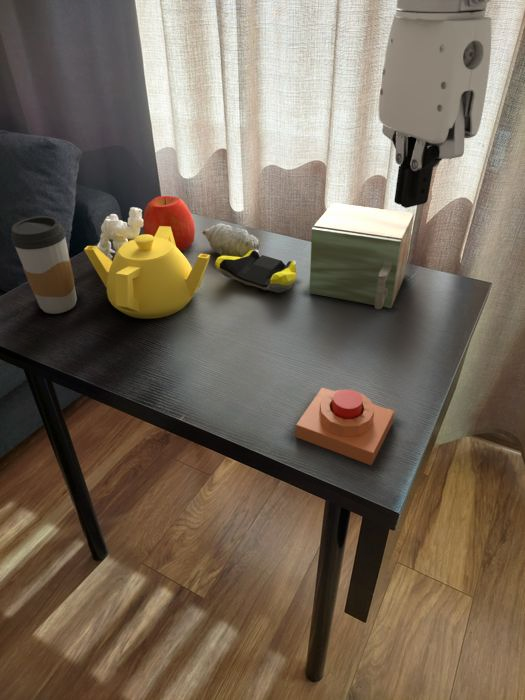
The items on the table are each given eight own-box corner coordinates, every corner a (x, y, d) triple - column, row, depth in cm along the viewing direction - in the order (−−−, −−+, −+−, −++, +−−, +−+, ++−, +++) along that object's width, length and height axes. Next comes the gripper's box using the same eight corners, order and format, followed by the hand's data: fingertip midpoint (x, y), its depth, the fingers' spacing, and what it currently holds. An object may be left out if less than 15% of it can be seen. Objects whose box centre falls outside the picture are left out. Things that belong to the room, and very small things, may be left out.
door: (384, 324, 86) (394, 255, 78) (300, 307, 90) (301, 241, 83) (391, 306, 90) (401, 239, 83) (310, 291, 94) (313, 227, 87)
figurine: (154, 263, 105) (144, 205, 98) (144, 275, 101) (134, 216, 94) (106, 259, 107) (93, 202, 99) (95, 271, 103) (81, 212, 95)
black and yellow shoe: (280, 308, 90) (309, 283, 97) (280, 280, 87) (310, 256, 94) (212, 285, 97) (243, 263, 104) (209, 258, 94) (242, 238, 101)
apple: (135, 246, 111) (127, 197, 105) (176, 230, 117) (170, 183, 111) (166, 262, 105) (158, 211, 99) (207, 244, 111) (203, 195, 105)
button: (365, 405, 65) (367, 394, 64) (355, 423, 63) (356, 412, 62) (338, 396, 67) (339, 385, 65) (327, 413, 64) (328, 402, 63)
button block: (392, 423, 68) (396, 400, 65) (371, 465, 62) (375, 442, 60) (321, 399, 72) (322, 376, 69) (295, 437, 66) (296, 414, 64)
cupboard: (391, 306, 90) (401, 238, 82) (311, 291, 95) (313, 225, 87) (404, 277, 98) (414, 213, 91) (329, 264, 103) (332, 202, 95)
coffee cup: (63, 288, 97) (41, 211, 89) (93, 301, 93) (73, 221, 85) (24, 308, 92) (-3, 228, 83) (53, 322, 88) (28, 240, 79)
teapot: (126, 336, 84) (111, 270, 77) (92, 293, 96) (77, 232, 89) (217, 305, 92) (212, 242, 84) (176, 268, 103) (168, 210, 96)
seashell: (215, 226, 112) (217, 198, 105) (261, 264, 108) (267, 238, 101) (193, 241, 109) (194, 214, 102) (240, 280, 105) (245, 255, 99)
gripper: (545, -2, 41) (489, 220, 52) (418, -8, 52) (394, 177, 63) (474, 3, 38) (431, 236, 49) (355, -5, 49) (341, 188, 60)
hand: (410, 202), depth 56 cm, fingers closed
